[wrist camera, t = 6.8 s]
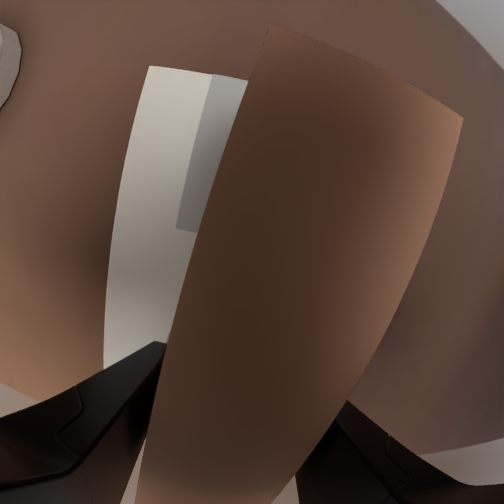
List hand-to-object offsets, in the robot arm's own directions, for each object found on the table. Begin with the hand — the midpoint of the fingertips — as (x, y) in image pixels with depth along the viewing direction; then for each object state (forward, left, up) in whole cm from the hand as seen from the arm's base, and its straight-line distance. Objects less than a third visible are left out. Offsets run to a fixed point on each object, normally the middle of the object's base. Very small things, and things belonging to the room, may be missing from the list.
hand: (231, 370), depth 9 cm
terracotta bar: (0, 0, -1) cm, 1 cm away
